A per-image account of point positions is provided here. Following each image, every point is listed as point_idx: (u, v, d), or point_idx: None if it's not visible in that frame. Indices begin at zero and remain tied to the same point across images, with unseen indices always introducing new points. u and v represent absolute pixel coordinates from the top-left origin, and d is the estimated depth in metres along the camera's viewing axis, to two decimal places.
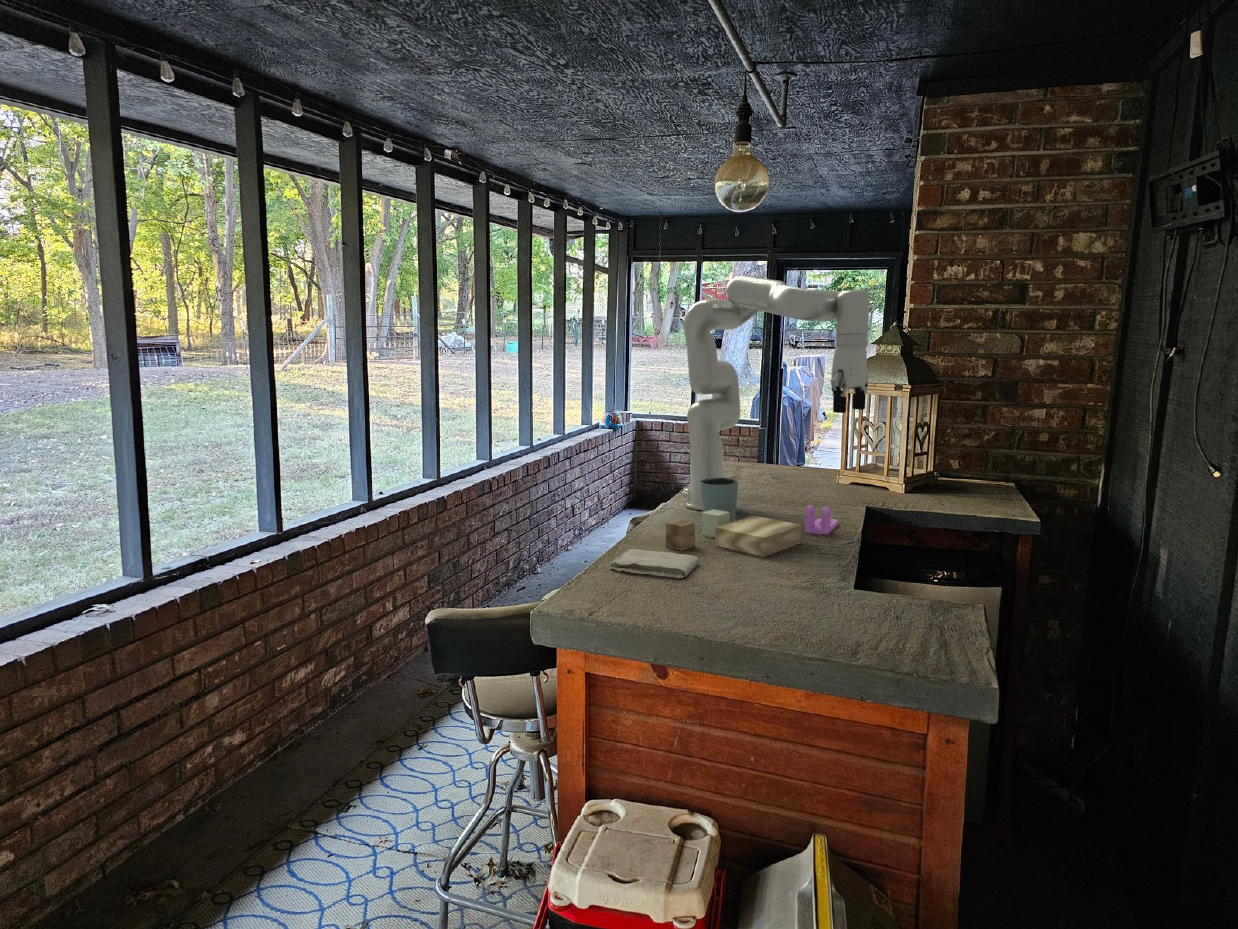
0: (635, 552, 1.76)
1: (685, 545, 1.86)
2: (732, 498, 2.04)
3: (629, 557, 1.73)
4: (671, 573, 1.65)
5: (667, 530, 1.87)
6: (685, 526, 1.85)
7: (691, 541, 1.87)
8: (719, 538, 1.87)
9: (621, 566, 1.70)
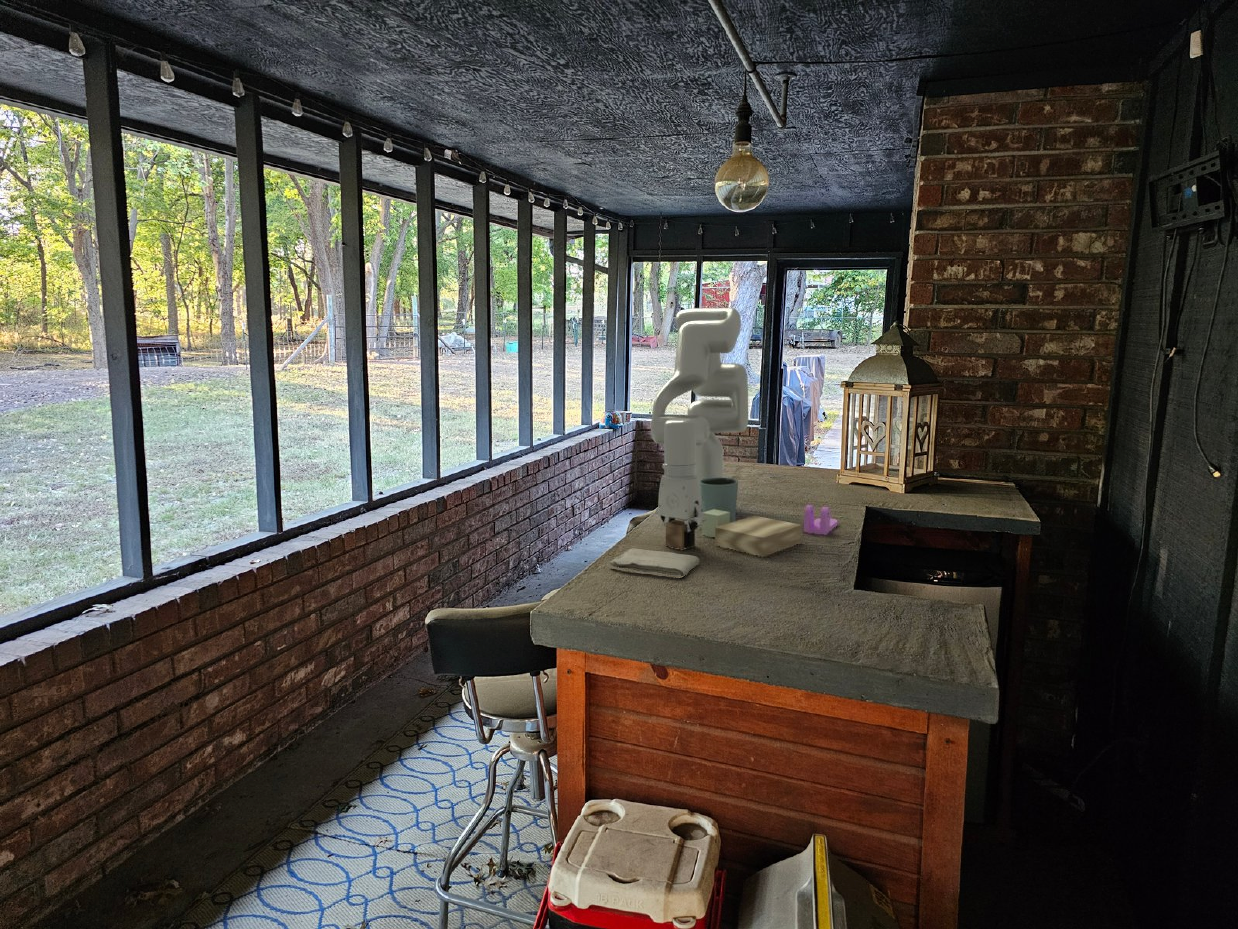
0: (635, 552, 1.76)
1: None
2: (732, 498, 2.04)
3: (629, 557, 1.73)
4: (669, 573, 1.65)
5: (667, 530, 1.87)
6: None
7: None
8: (719, 538, 1.87)
9: (620, 566, 1.70)
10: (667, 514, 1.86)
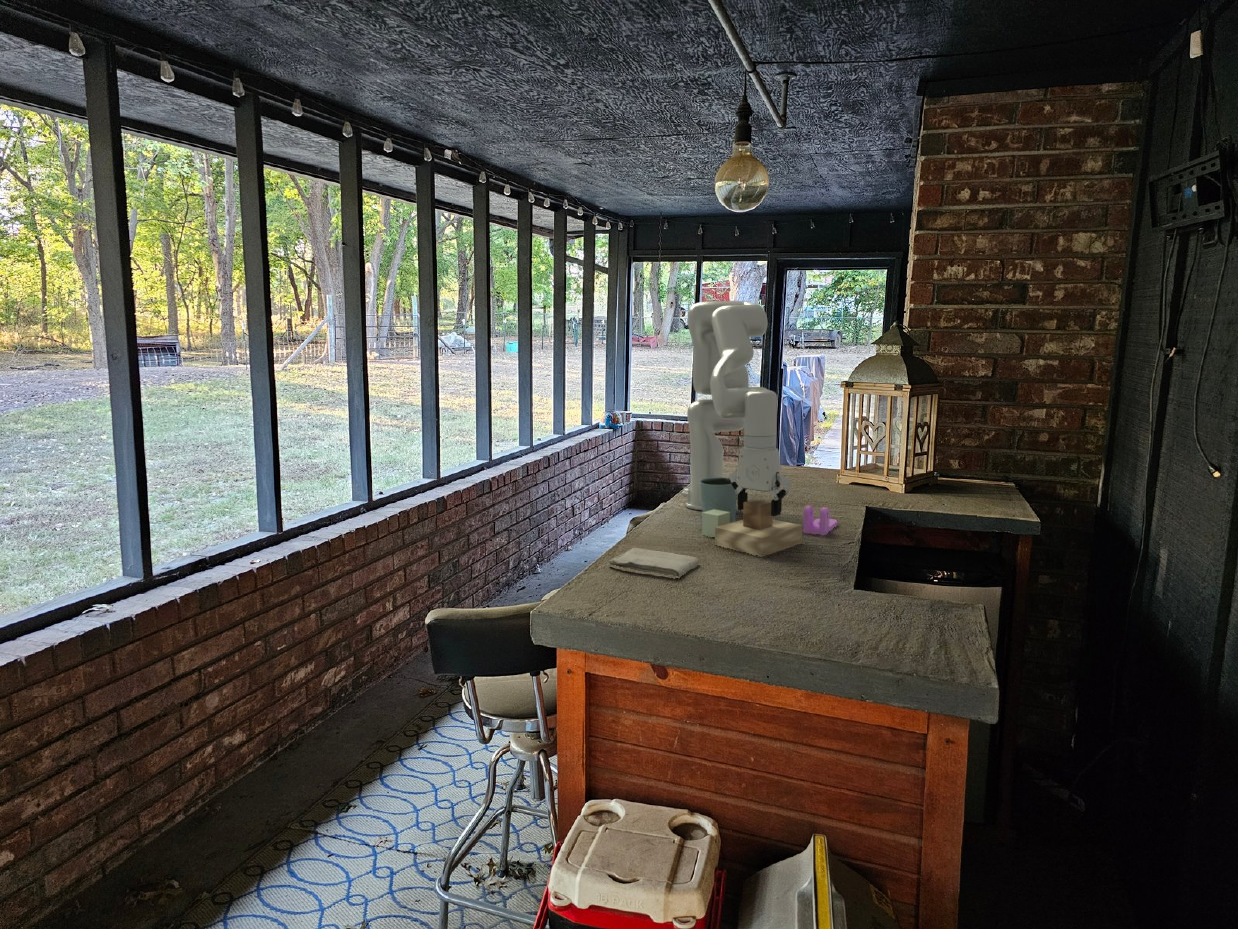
0: (637, 551, 1.77)
1: (763, 524, 1.86)
2: (732, 498, 2.04)
3: (629, 556, 1.74)
4: (666, 573, 1.65)
5: (745, 509, 1.87)
6: (764, 505, 1.85)
7: (769, 520, 1.87)
8: (718, 538, 1.87)
9: (619, 564, 1.71)
10: (747, 486, 1.86)
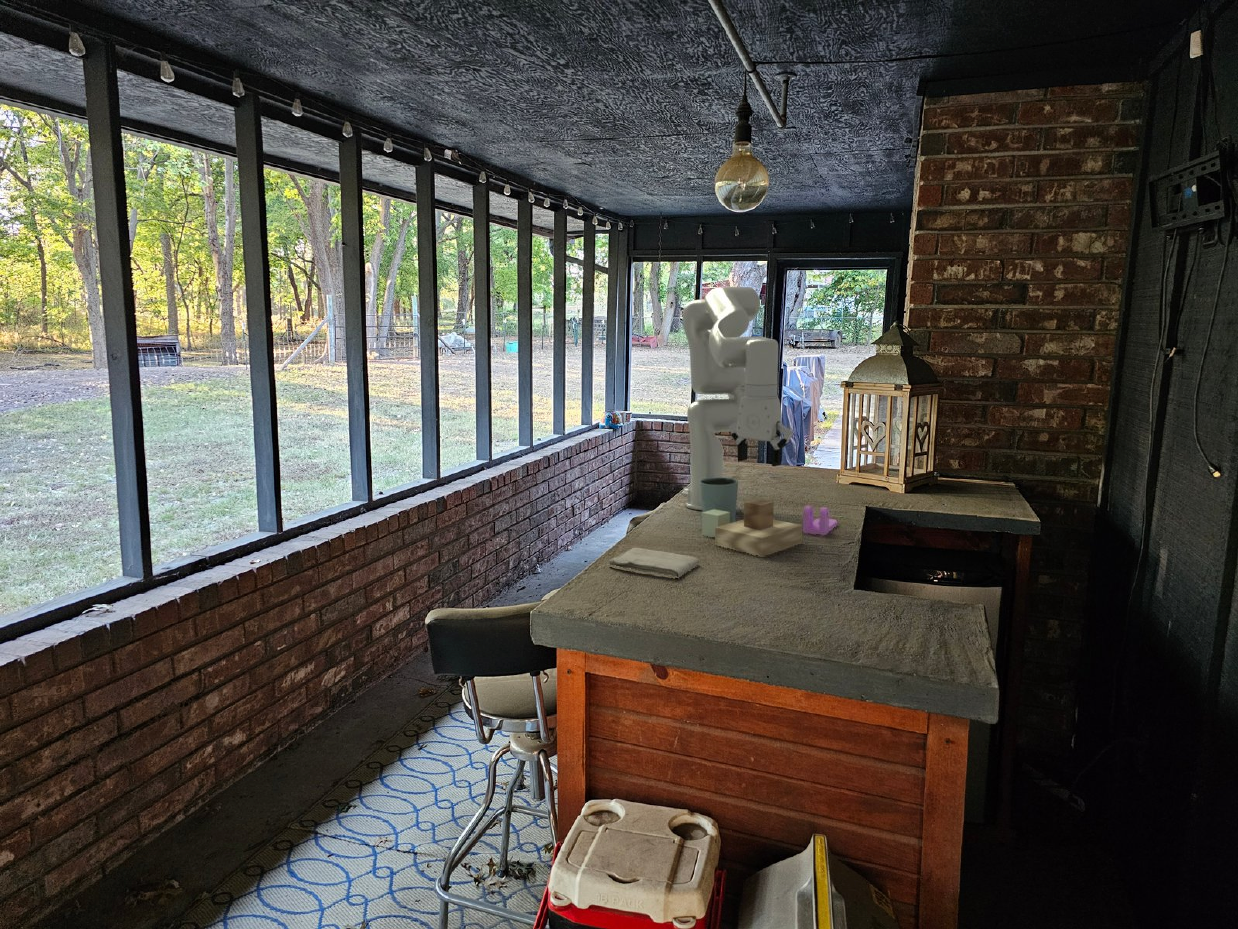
0: (637, 551, 1.77)
1: (764, 524, 1.85)
2: (732, 498, 2.04)
3: (629, 556, 1.74)
4: (665, 573, 1.65)
5: (745, 509, 1.87)
6: (764, 505, 1.85)
7: (770, 521, 1.87)
8: (719, 538, 1.87)
9: (619, 564, 1.71)
10: (747, 436, 1.84)
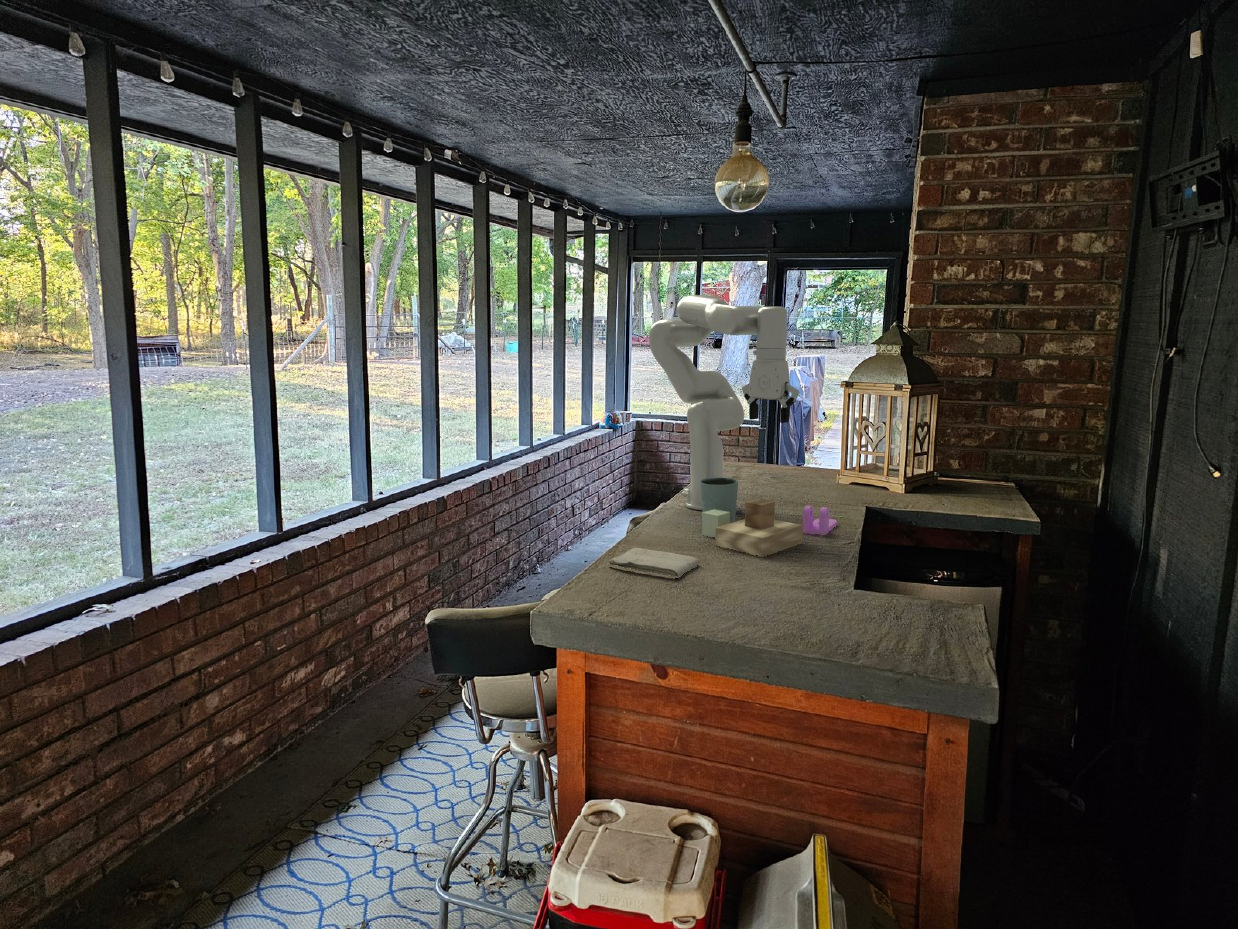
0: (637, 551, 1.77)
1: (765, 524, 1.86)
2: (732, 498, 2.04)
3: (629, 556, 1.74)
4: (665, 573, 1.65)
5: (746, 509, 1.87)
6: (765, 505, 1.85)
7: (770, 520, 1.87)
8: (719, 538, 1.87)
9: (619, 564, 1.71)
10: (758, 395, 2.02)
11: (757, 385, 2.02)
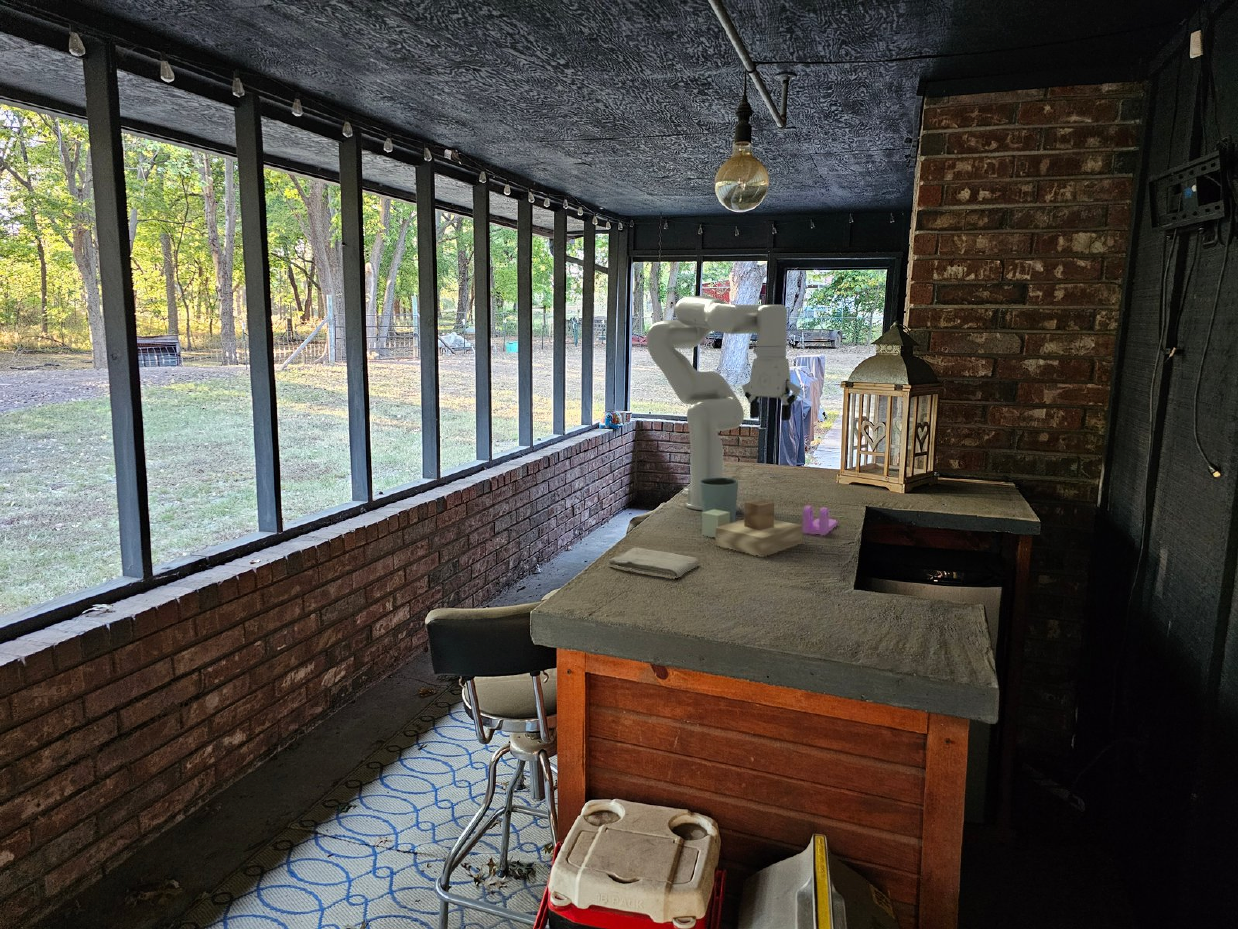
0: (637, 551, 1.77)
1: (764, 525, 1.85)
2: (732, 498, 2.04)
3: (629, 555, 1.74)
4: (664, 573, 1.65)
5: (746, 509, 1.87)
6: (764, 506, 1.84)
7: (770, 521, 1.86)
8: (719, 538, 1.87)
9: (618, 564, 1.71)
10: (759, 393, 2.02)
11: (758, 383, 2.02)
